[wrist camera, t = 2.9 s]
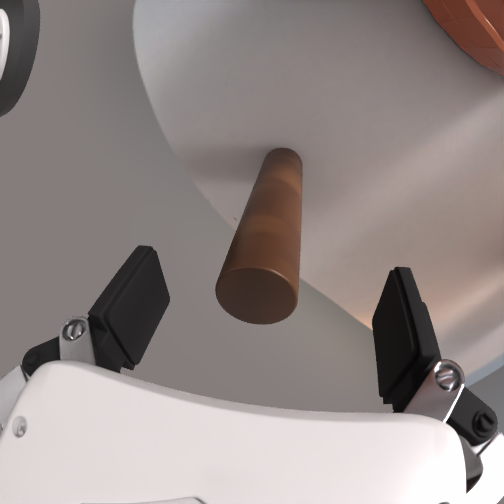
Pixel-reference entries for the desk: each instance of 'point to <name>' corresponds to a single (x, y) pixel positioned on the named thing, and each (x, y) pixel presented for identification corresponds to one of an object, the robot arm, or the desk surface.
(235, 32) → the desk surface
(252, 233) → the stick
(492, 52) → the mixing bowl
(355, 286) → the desk surface
